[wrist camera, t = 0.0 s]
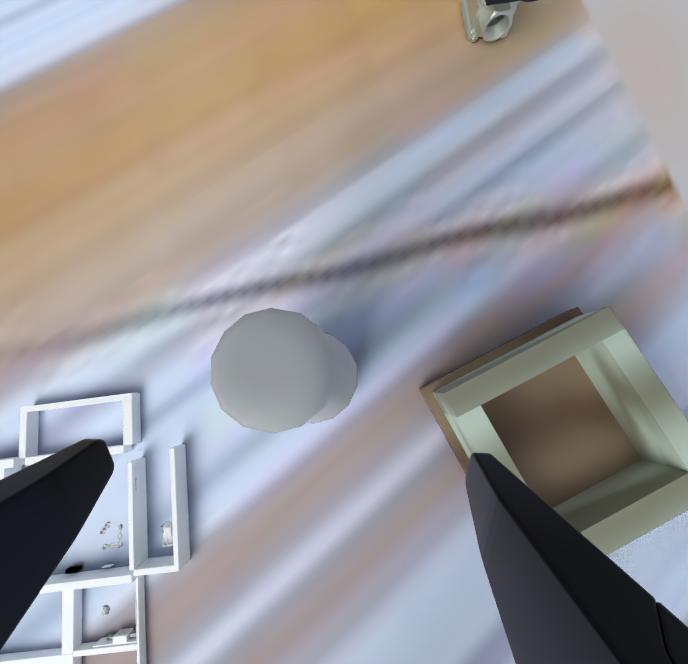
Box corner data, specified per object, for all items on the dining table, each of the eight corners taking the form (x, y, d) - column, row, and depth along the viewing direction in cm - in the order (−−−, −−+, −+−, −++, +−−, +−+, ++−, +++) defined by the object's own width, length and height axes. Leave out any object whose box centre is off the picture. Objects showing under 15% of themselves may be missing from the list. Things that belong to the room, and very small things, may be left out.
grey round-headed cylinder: (286, 427, 23) (190, 484, 10) (269, 348, 24) (161, 305, 11) (367, 406, 23) (378, 436, 10) (346, 328, 24) (331, 260, 11)
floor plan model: (183, 307, 25) (168, 301, 23) (200, 682, 21) (184, 712, 19) (-50, 339, 25) (-84, 335, 24) (-78, 712, 21) (-122, 744, 19)
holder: (673, 470, 21) (746, 489, 17) (512, 558, 21) (548, 600, 17) (568, 310, 23) (611, 294, 19) (419, 388, 23) (431, 389, 19)
